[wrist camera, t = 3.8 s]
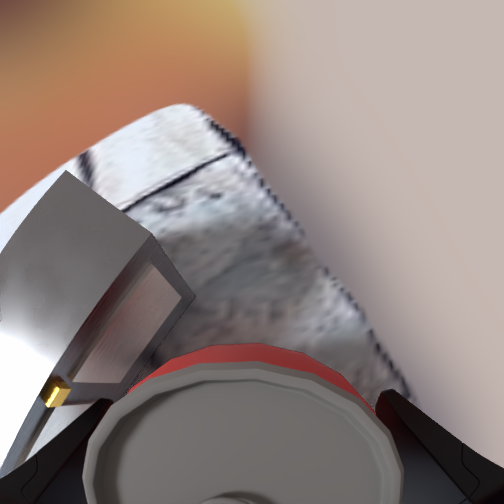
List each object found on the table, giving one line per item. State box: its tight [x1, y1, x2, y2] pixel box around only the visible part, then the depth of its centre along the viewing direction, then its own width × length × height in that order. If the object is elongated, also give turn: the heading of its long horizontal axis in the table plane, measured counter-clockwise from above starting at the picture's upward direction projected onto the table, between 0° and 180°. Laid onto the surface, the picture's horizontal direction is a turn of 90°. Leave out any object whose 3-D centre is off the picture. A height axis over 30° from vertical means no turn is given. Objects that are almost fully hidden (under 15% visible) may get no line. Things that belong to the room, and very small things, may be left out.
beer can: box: [82, 343, 404, 504], centre depth 8 cm, size 7×7×12 cm
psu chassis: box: [0, 170, 195, 478], centre depth 11 cm, size 6×14×8 cm, turn 146°
